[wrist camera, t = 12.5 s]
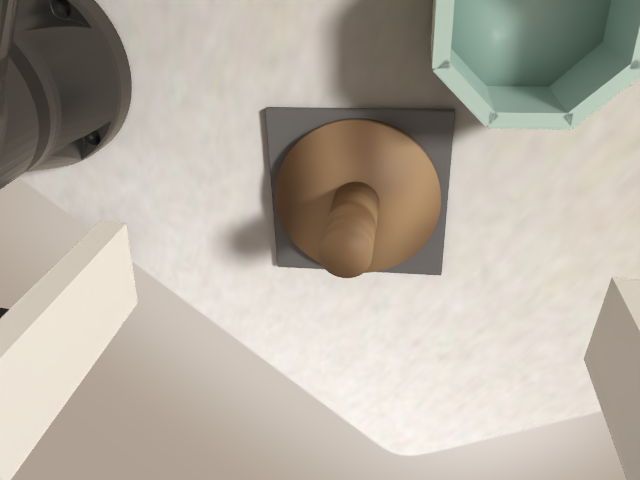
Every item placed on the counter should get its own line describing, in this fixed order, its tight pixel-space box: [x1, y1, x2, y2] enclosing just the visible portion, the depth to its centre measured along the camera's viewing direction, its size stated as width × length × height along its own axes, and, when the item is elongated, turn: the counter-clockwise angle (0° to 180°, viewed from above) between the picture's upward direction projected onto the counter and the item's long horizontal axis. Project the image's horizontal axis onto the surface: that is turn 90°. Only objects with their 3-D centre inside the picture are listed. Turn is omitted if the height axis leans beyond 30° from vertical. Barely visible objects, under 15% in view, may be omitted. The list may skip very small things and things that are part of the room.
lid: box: [275, 118, 441, 278], centre depth 43 cm, size 13×13×9 cm
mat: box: [265, 107, 455, 275], centre depth 47 cm, size 14×14×1 cm
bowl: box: [431, 0, 640, 130], centre depth 36 cm, size 12×12×7 cm
